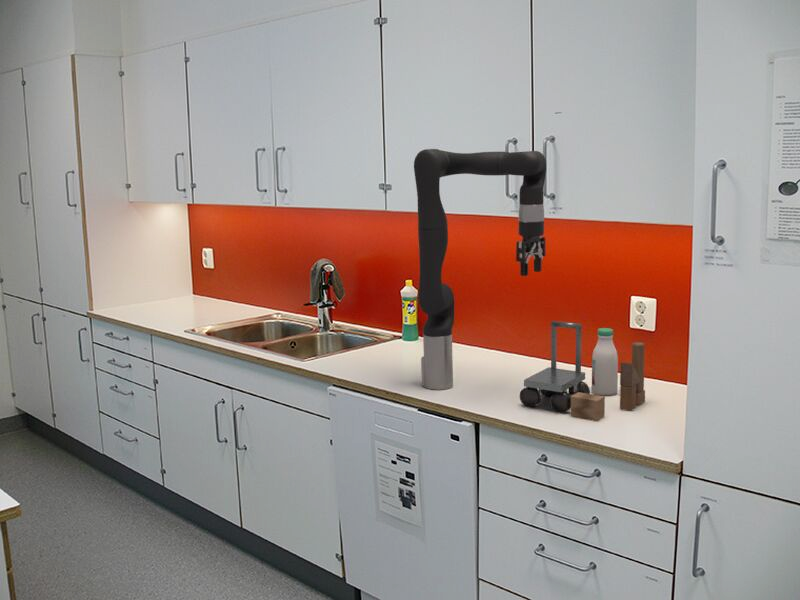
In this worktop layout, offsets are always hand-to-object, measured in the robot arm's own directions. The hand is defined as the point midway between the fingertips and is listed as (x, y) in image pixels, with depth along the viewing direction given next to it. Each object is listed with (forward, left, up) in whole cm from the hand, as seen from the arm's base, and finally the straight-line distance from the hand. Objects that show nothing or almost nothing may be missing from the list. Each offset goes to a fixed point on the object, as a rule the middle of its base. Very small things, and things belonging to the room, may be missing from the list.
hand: (531, 273), depth 254 cm
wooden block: (+30, +6, -38) cm, 49 cm away
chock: (+23, -10, -38) cm, 45 cm away
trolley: (+10, -4, -38) cm, 39 cm away
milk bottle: (+18, +14, -38) cm, 44 cm away
